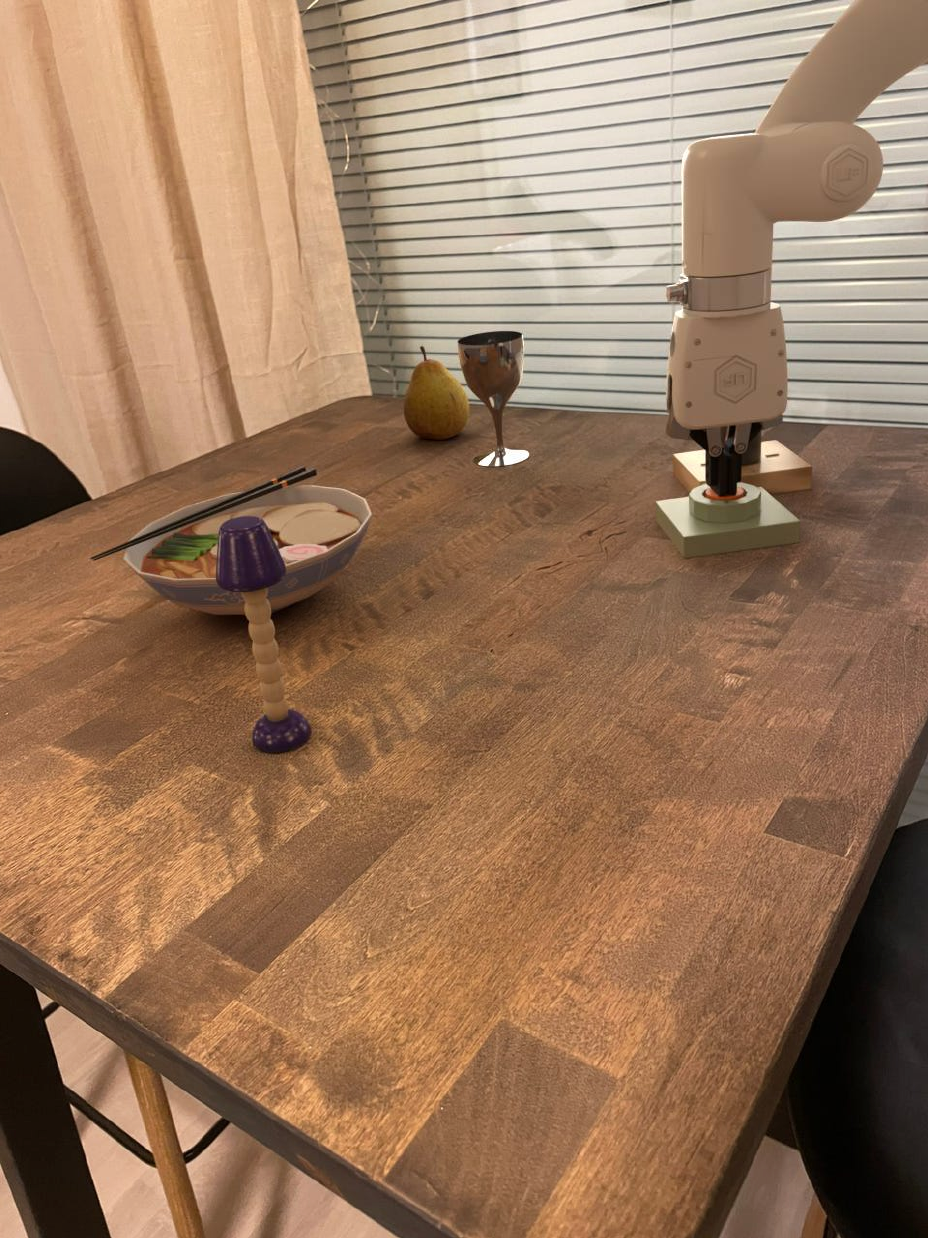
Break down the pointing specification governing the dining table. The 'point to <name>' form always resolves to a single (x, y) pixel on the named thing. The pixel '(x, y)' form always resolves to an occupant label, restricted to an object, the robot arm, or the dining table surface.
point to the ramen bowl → (297, 519)
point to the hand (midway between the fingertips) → (723, 490)
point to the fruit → (435, 402)
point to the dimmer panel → (751, 469)
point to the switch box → (726, 522)
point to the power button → (713, 496)
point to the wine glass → (494, 383)
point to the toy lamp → (260, 624)
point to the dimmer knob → (753, 448)
